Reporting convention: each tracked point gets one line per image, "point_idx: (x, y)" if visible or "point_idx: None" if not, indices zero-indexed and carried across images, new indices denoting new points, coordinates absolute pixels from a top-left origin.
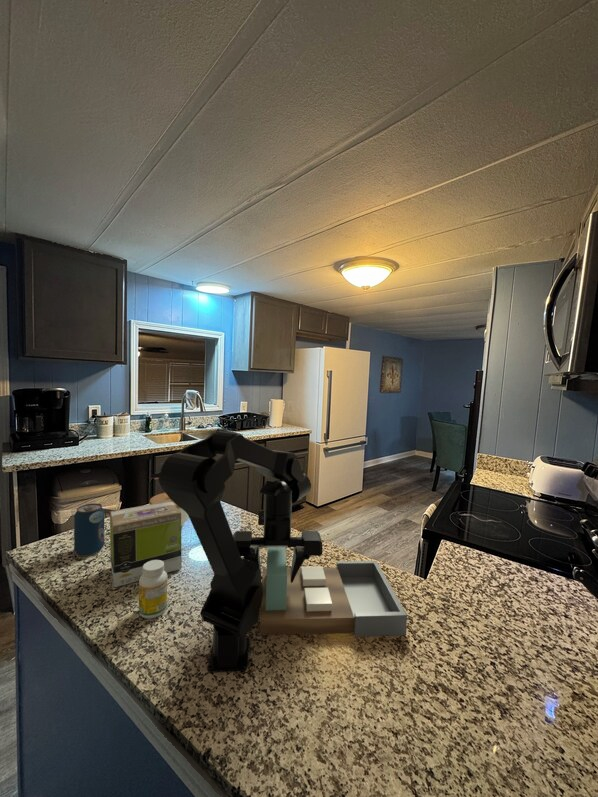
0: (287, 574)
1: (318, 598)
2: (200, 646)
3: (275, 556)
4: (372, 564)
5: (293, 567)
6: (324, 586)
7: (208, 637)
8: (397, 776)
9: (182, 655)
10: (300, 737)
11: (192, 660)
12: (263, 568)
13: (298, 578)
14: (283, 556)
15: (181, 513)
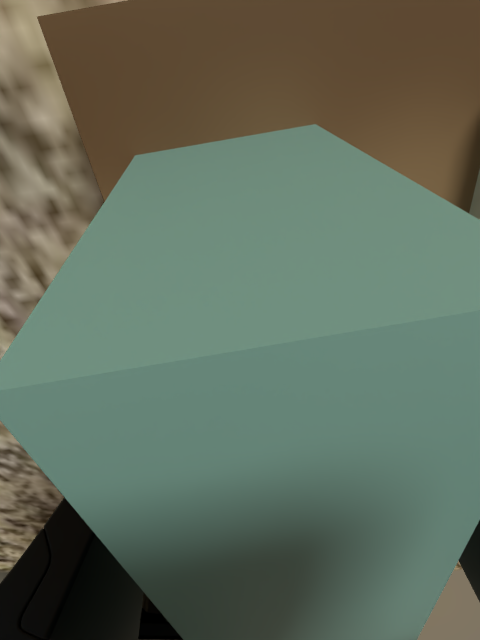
0: (351, 124)
1: None
2: (35, 494)
3: (293, 608)
4: None
5: (470, 582)
6: None
7: (35, 471)
8: (456, 564)
9: (5, 517)
10: None
11: (46, 521)
12: (48, 20)
13: (446, 180)
14: (411, 591)
15: None
